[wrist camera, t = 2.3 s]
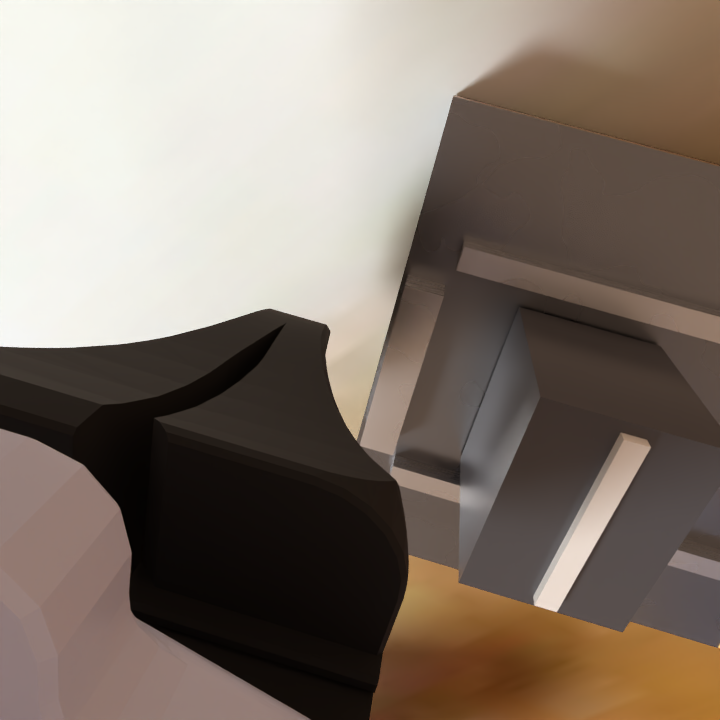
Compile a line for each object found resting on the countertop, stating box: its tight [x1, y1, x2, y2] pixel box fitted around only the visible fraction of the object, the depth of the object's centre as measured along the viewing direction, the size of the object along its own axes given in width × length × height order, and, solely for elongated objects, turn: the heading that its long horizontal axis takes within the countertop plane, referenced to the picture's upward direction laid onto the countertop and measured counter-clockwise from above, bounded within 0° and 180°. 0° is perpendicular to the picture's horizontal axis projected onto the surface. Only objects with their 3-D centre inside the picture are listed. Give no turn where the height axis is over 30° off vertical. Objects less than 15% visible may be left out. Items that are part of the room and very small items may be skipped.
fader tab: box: [459, 307, 720, 632], centre depth 11 cm, size 3×4×4 cm
